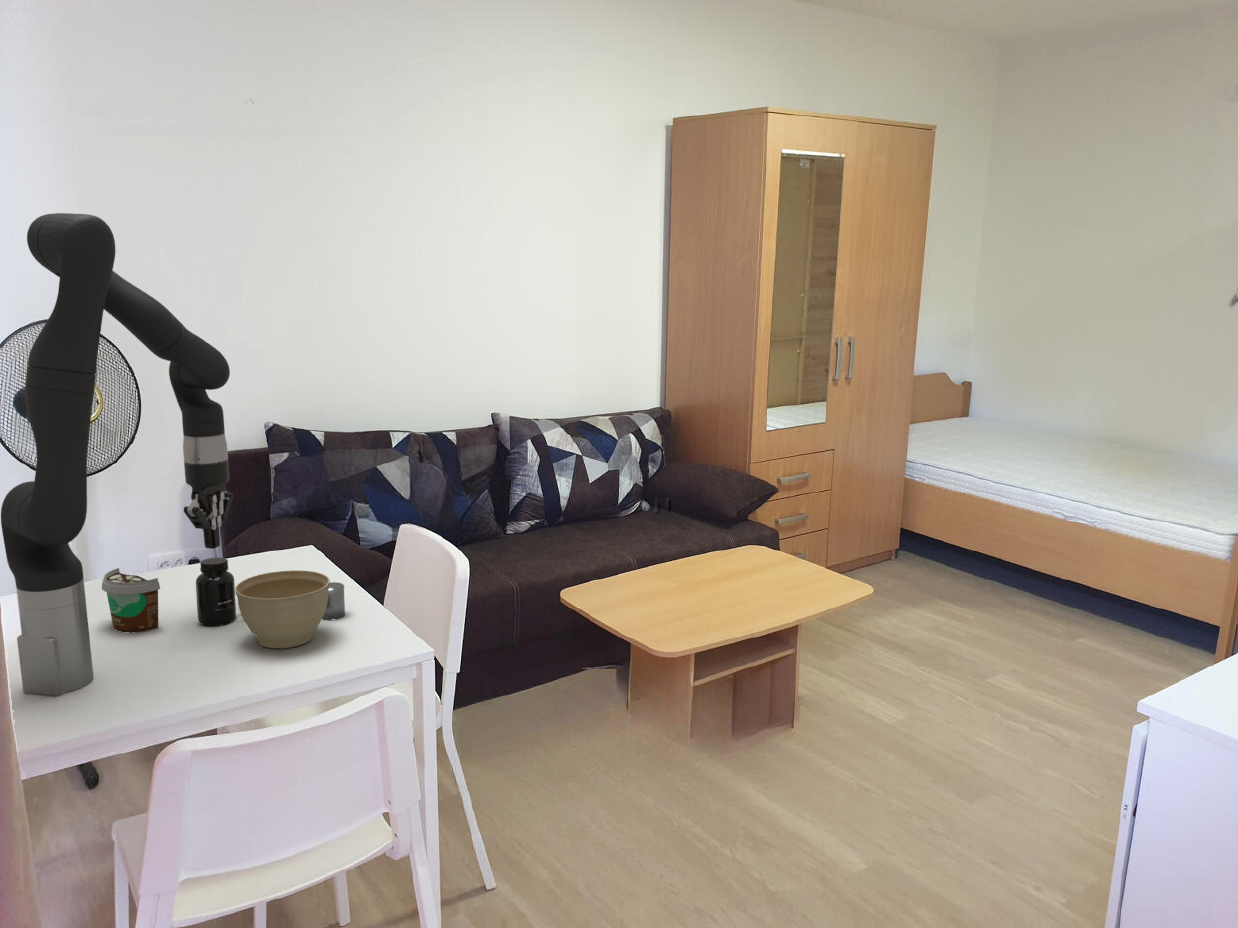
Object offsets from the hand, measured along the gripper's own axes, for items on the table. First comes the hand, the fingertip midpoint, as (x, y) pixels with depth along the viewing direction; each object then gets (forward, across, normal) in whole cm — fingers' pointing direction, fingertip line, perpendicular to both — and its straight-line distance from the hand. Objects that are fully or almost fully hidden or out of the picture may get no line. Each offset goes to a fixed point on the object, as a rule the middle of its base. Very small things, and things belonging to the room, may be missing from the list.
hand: (212, 547), depth 176 cm
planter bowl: (+15, -6, -17) cm, 24 cm away
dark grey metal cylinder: (+15, +7, -20) cm, 26 cm away
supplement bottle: (+15, 0, 0) cm, 15 cm away
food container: (+15, -7, +14) cm, 22 cm away
